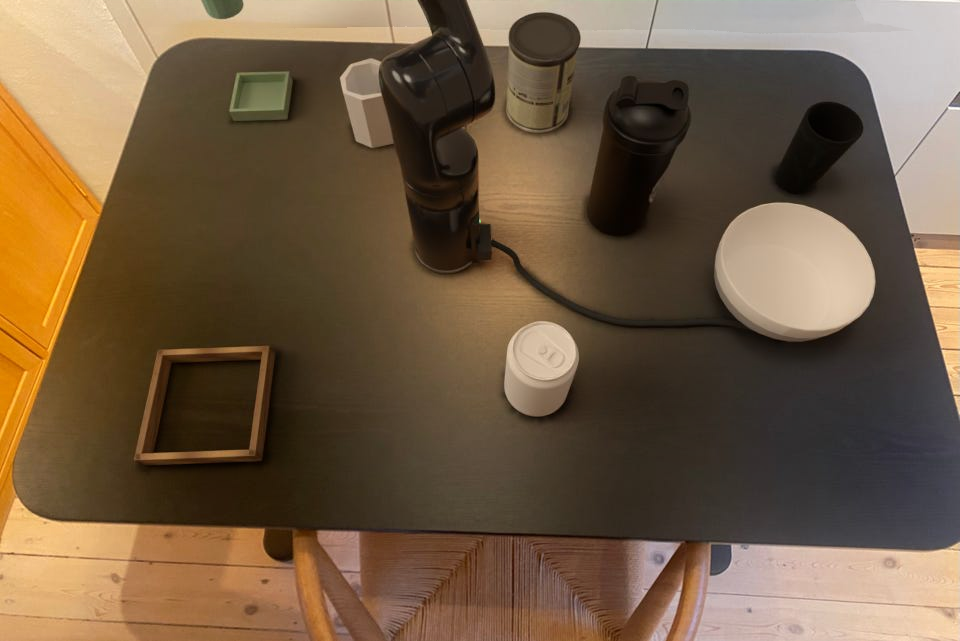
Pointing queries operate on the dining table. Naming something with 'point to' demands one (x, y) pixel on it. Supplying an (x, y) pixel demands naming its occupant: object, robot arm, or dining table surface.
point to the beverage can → (540, 368)
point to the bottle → (222, 8)
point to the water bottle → (636, 151)
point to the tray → (261, 96)
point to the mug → (366, 103)
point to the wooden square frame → (158, 395)
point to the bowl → (792, 272)
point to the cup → (817, 145)
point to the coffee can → (541, 70)
